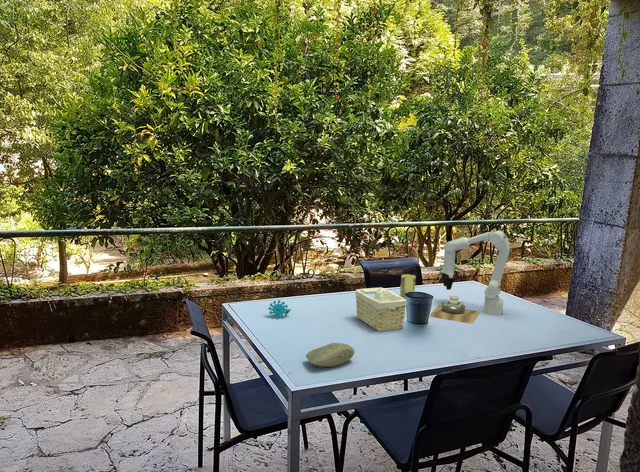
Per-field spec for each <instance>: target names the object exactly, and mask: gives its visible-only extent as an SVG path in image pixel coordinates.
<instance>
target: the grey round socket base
mask: <svg viewBox="0 0 640 472" xmlns="http://www.w3.org/2000/svg"><path fill="white" fill-rule="evenodd" d="M449 301H450V299H447V300H446V301H445V302H442V303H441V305H442V309H441V310H442V311H443V312H446V313H450V314H463V313H465V309H466V305H464V302H463V301H458V305H453V304H449Z"/></svg>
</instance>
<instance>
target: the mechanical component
mask: <svg viewBox="0 0 640 472" xmlns="http://www.w3.org/2000/svg"><path fill="white" fill-rule="evenodd" d="M416 278H417V277H416V275H415V274H409V273H407V274H401V279H400V286H399V287H400V289H399V292H400V294H399V296H401V297H402V298H404V299H406V298H405V293H406V292H413V291H415V292H416Z"/></svg>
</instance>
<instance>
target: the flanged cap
mask: <svg viewBox="0 0 640 472" xmlns="http://www.w3.org/2000/svg"><path fill="white" fill-rule="evenodd" d="M448 297H449V300H450V301H449V304H453V305H458V302H459V298H460V297H459V296H457V295H449V296H448Z"/></svg>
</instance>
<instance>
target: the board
mask: <svg viewBox="0 0 640 472" xmlns="http://www.w3.org/2000/svg"><path fill="white" fill-rule="evenodd" d="M441 309H442V304H439V305H437V306H436V308H435V309H434V310H432V312H430V314H429V315H430V316H429V315H428V316H429V318H436V319H440V320H441V319H442V320H448V321H453V322H459V323H464V324H471V325H473V324H474V323H475V321H476V320H477V318H478V317H479V315H480V313H481V312H482V311H480V310H475V309H474V310H473V309H469V308H467V309H466V308H465V313H463V314H450V313H446V312H443V311H442V310H441Z"/></svg>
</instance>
